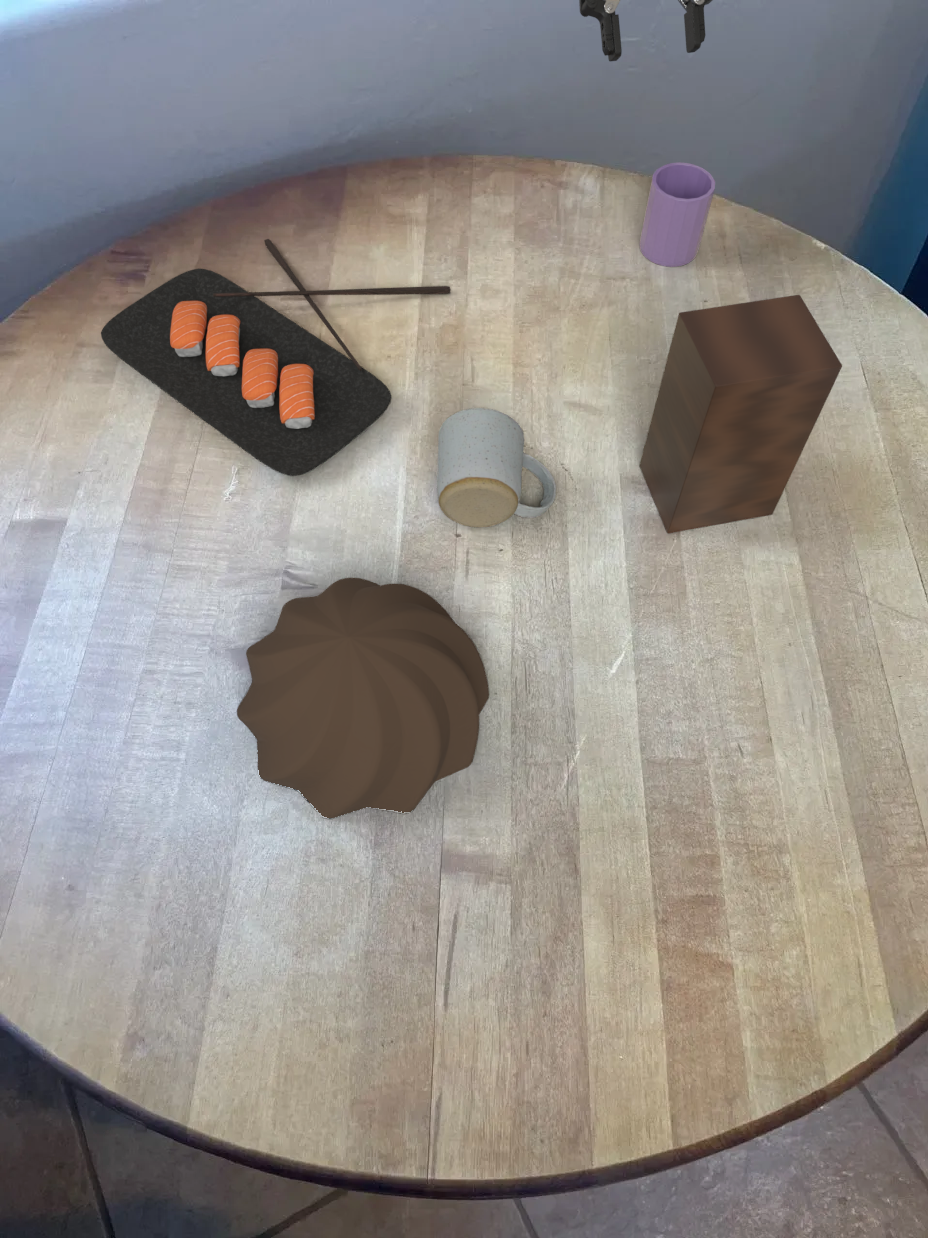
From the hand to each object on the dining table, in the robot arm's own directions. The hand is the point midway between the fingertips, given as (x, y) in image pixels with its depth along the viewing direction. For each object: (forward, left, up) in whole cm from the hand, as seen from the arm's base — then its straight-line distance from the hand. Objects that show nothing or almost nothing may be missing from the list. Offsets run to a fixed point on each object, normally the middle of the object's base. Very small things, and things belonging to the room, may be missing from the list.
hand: (654, 54), depth 99 cm
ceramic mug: (+27, +41, -15) cm, 51 cm away
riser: (+8, +45, -15) cm, 48 cm away
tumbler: (0, +12, -15) cm, 19 cm away
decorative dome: (+42, +59, -15) cm, 74 cm away
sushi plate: (+41, +17, -15) cm, 46 cm away
